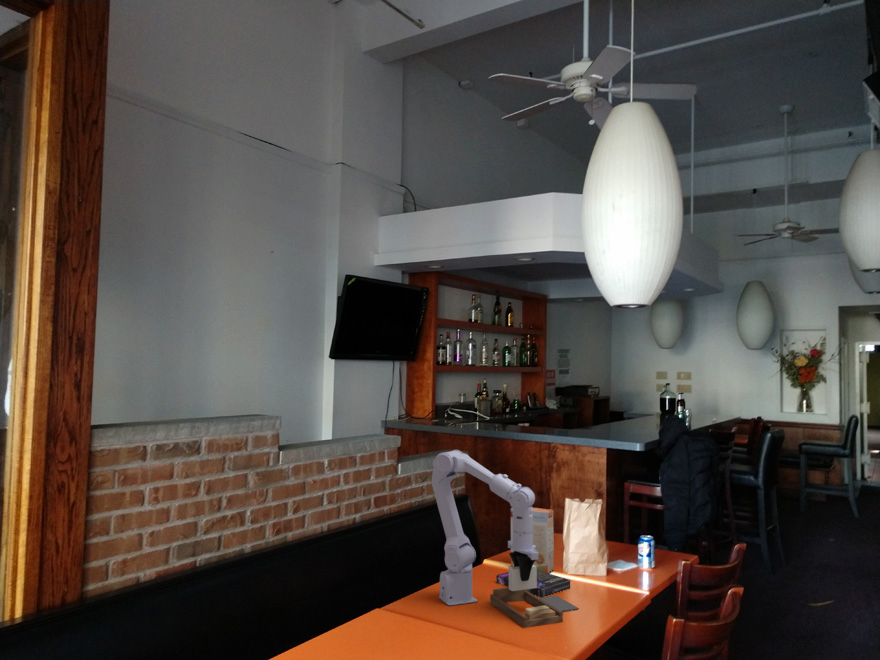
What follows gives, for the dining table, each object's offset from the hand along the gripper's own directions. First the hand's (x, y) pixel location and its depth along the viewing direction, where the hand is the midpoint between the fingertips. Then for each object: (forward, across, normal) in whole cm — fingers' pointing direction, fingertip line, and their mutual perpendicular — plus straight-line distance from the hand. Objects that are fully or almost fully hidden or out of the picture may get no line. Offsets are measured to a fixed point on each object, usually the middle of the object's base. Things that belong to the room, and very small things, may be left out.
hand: (522, 579), depth 192 cm
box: (+10, +19, -14) cm, 26 cm away
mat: (+9, +1, -11) cm, 14 cm away
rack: (+9, 0, 0) cm, 9 cm away
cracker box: (+9, +35, -23) cm, 43 cm away
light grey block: (+3, 0, 0) cm, 3 cm away
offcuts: (+9, -9, 0) cm, 13 cm away
